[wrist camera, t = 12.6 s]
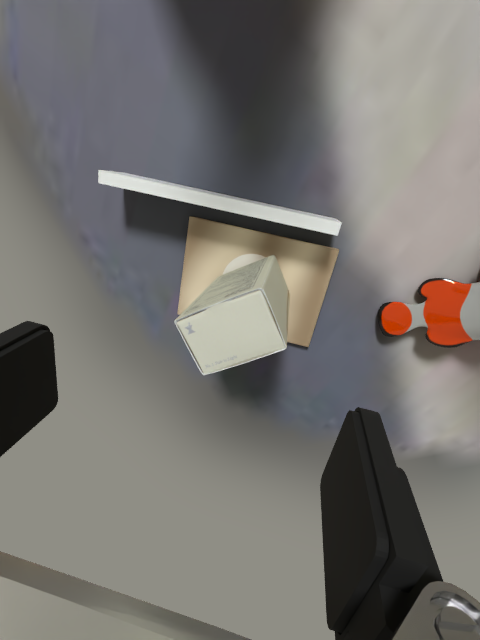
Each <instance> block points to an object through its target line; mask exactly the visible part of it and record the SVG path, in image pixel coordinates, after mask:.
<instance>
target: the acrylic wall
mask: <svg viewBox="0 0 480 640" xmlns="http://www.w3.org/2000/svg"><path fill="white" fill-rule="evenodd" d="M98 183H101V184H106V185H110V186H115V187H119V188H124V189H128V190H133V191H137V192H142V193H146V194H151V195H155V196H160V197H164V198H169V199H174V200H178V201H183V202H187V203H192V204H196V205H201V206H205V207H210V208H214V209H219V210H223V211H228V212H232V213H237V214H241V215H246V216H250V217H255V218H259V219H264V220H268V221H273V222H277V223H282V224H287V225H291V226H296V227H300V228H305V229H309V230H314V231H318V232H323V233H327V234H332V235H336V236H338V233H339V229H340V226H341V222H340V221H339V220H337V219H336V218H331V217H326V216H322V215H317V214H312V213H308V212H303V211H299V210H294V209H289V208H285V207H280V206H276V205H271V204H266V203H262V202H257V201H252V200H248V199H243V198H239V197H234V196H229V195H225V194H220V193H216V192H211V191H206V190H202V189H197V188H193V187H188V186H183V185H179V184H174V183H169V182H165V181H160V180H156V179H151V178H146V177H142V176H137V175H133V174H128V173H123V172H114V171H105V170H99V180H98Z"/></svg>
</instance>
